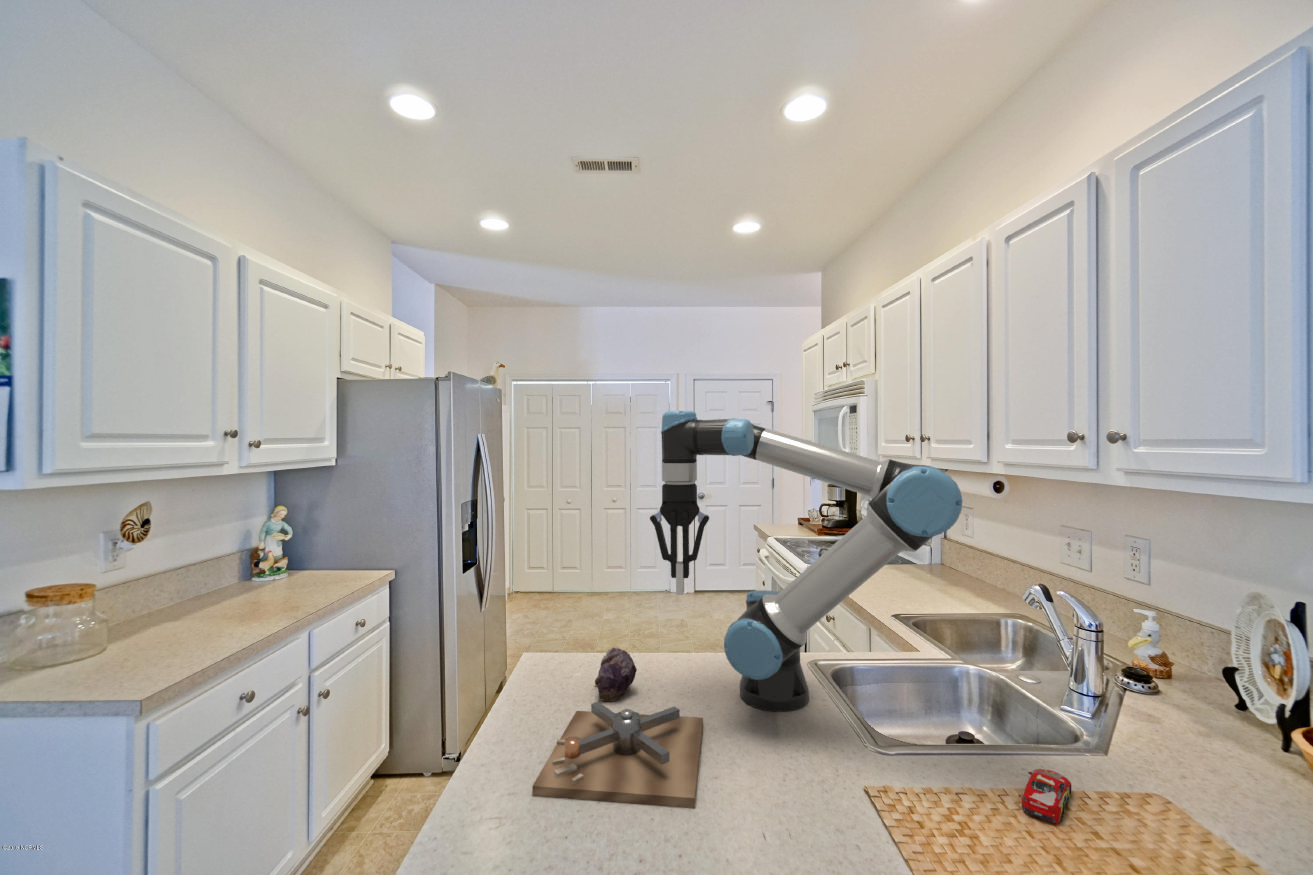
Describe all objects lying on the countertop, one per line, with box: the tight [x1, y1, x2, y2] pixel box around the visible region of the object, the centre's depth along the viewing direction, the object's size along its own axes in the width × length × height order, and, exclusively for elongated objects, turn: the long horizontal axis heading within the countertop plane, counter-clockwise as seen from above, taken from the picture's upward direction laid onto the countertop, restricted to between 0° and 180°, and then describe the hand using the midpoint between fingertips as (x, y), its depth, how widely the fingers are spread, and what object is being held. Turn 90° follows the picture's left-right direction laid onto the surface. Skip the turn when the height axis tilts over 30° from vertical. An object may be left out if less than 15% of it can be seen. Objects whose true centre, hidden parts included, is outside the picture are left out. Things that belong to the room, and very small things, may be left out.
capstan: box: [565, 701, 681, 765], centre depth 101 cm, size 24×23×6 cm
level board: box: [531, 710, 704, 809], centre depth 101 cm, size 26×26×2 cm
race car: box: [1021, 768, 1072, 824], centre depth 88 cm, size 13×5×4 cm, turn 135°
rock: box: [594, 647, 638, 702], centre depth 128 cm, size 12×9×10 cm
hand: (680, 592), depth 121 cm, fingers closed
